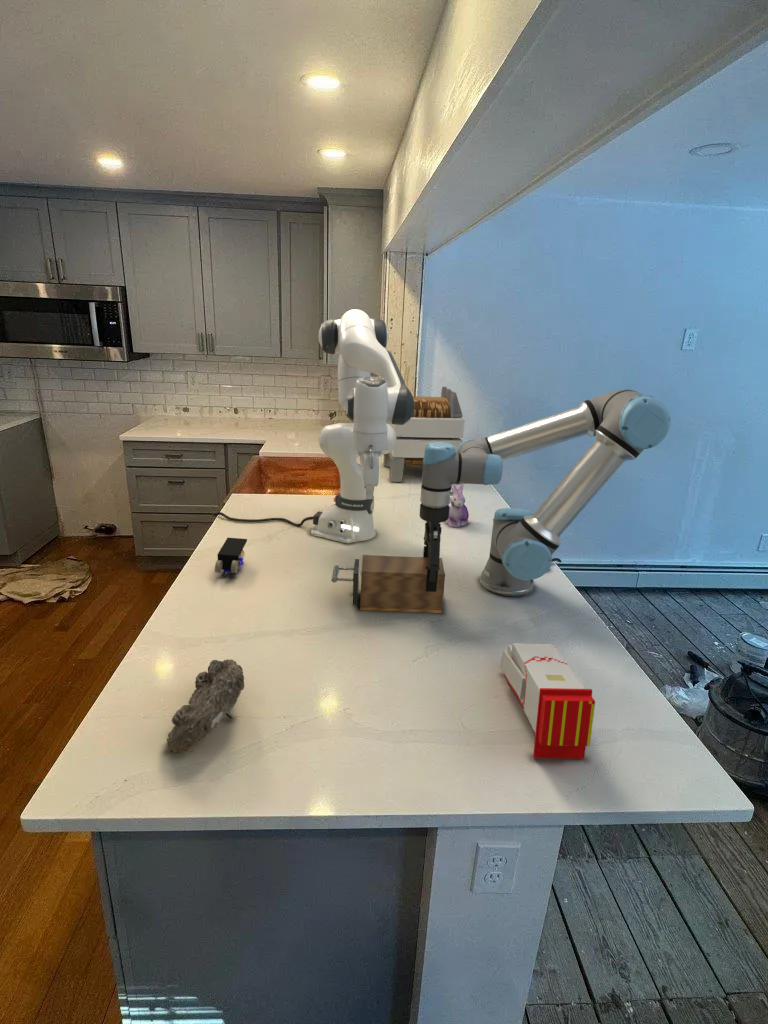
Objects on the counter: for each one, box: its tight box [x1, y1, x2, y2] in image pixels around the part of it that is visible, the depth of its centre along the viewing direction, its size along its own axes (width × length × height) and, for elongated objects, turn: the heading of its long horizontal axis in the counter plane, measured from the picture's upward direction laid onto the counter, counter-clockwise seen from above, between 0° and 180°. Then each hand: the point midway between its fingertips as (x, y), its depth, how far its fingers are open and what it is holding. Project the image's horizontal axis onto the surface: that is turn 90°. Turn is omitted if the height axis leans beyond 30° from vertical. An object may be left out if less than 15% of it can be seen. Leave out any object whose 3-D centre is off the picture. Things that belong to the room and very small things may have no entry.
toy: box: [499, 642, 596, 760], centre depth 113 cm, size 12×13×30 cm
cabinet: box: [359, 554, 446, 614], centre depth 152 cm, size 22×10×11 cm, turn 90°
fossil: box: [166, 658, 245, 754], centre depth 106 cm, size 22×10×15 cm
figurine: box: [446, 483, 470, 528], centre depth 210 cm, size 9×10×15 cm
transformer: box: [383, 386, 465, 483], centre depth 268 cm, size 34×33×41 cm
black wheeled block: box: [214, 537, 248, 578], centre depth 166 cm, size 7×8×15 cm
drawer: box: [330, 558, 360, 606], centre depth 152 cm, size 26×9×9 cm, turn 90°
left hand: (368, 493), depth 151 cm, fingers open, 8 cm apart
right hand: (428, 579), depth 151 cm, fingers open, 13 cm apart
